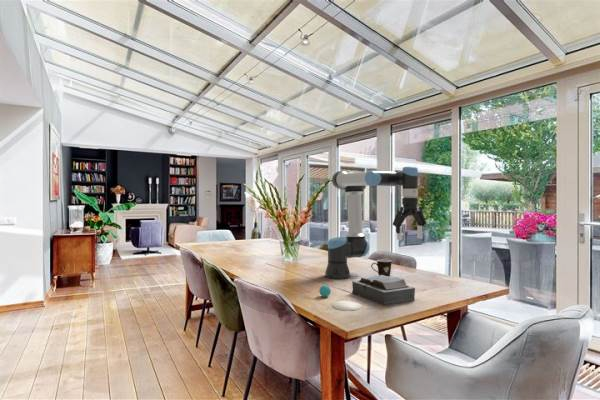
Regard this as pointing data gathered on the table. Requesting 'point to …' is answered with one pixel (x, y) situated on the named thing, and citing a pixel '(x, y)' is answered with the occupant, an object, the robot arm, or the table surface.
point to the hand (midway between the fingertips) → (409, 239)
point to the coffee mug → (383, 267)
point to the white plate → (346, 305)
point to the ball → (325, 290)
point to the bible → (384, 290)
